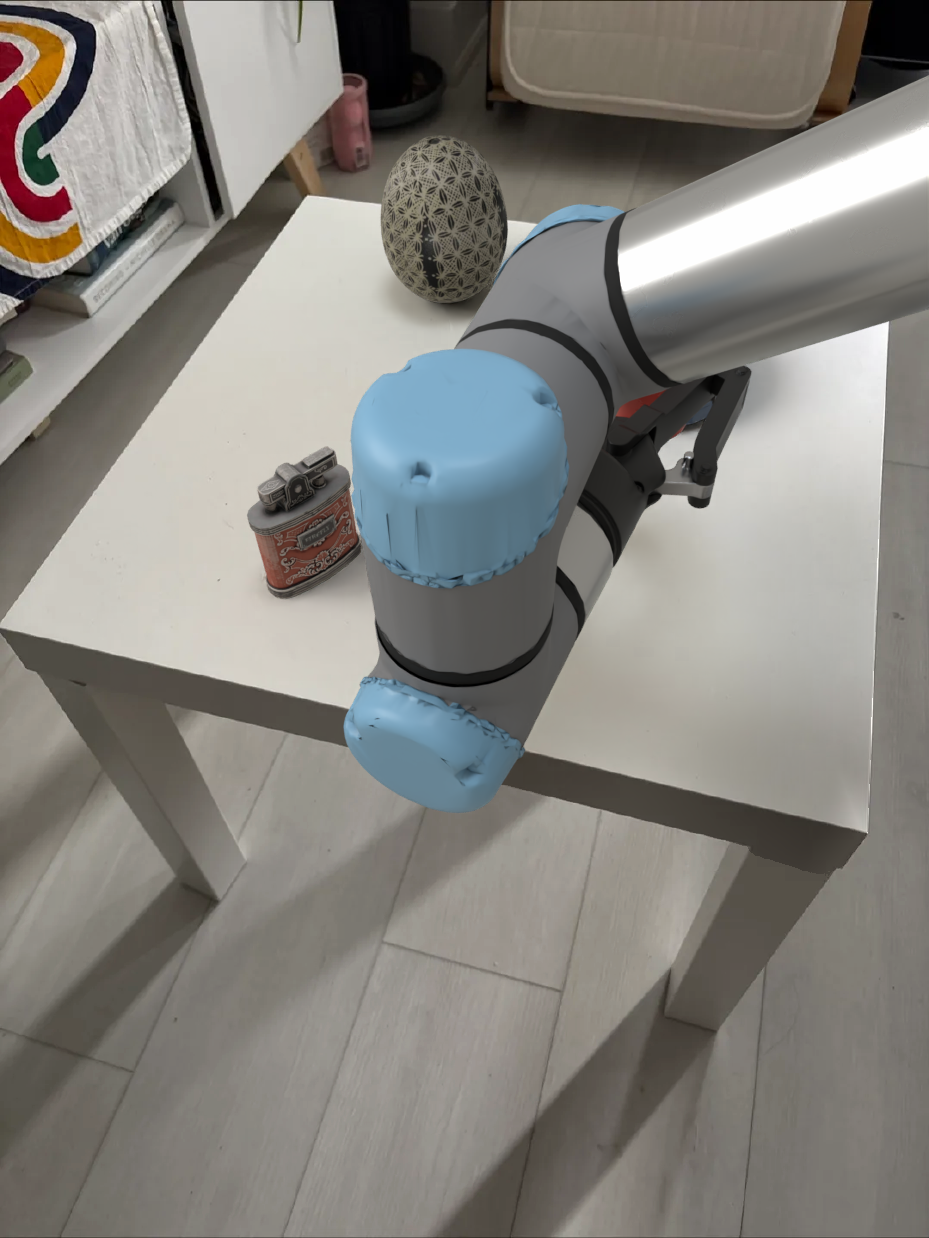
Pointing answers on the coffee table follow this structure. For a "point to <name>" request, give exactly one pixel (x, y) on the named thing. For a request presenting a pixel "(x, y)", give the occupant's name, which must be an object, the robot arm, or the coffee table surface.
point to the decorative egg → (443, 220)
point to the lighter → (305, 523)
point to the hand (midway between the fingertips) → (687, 297)
